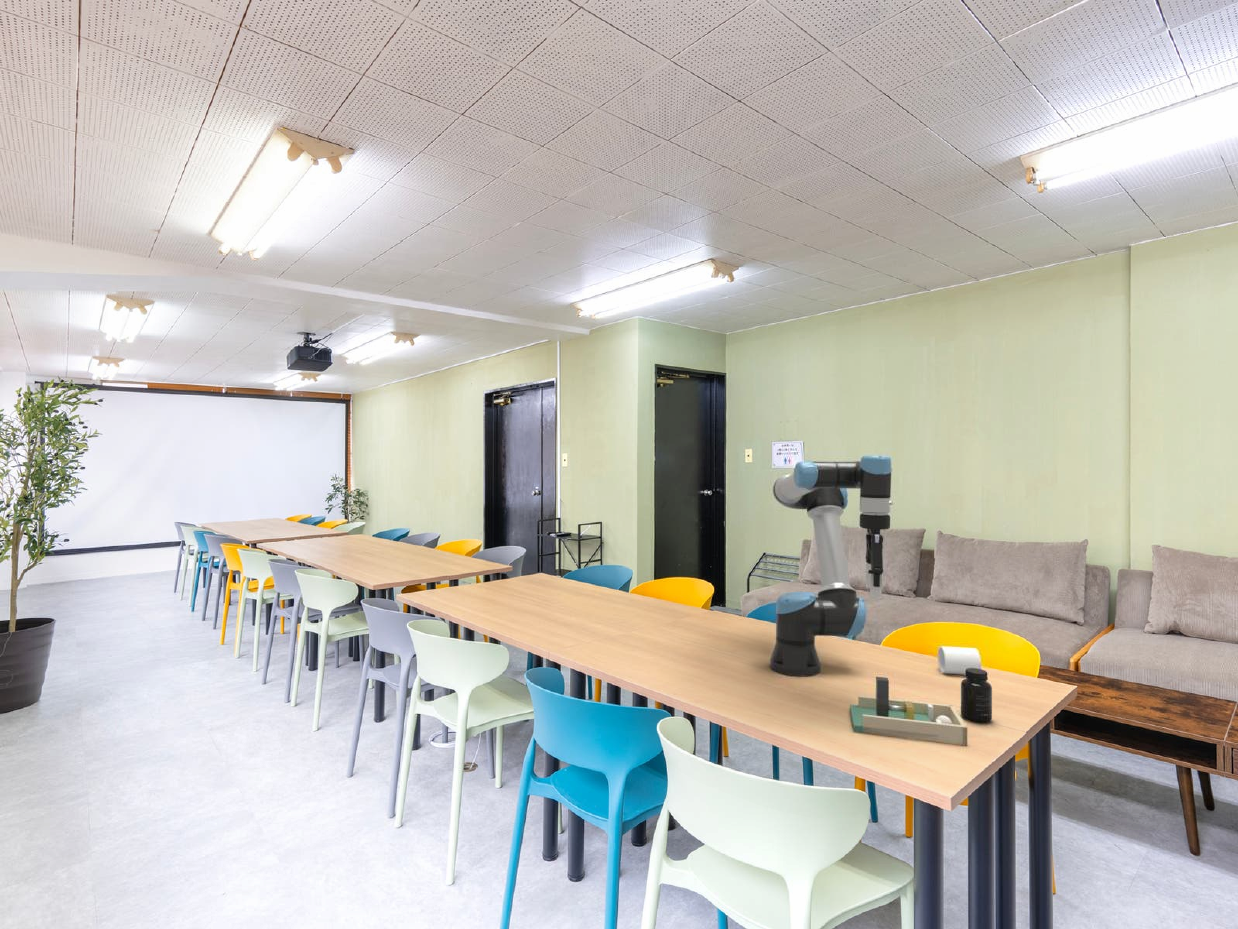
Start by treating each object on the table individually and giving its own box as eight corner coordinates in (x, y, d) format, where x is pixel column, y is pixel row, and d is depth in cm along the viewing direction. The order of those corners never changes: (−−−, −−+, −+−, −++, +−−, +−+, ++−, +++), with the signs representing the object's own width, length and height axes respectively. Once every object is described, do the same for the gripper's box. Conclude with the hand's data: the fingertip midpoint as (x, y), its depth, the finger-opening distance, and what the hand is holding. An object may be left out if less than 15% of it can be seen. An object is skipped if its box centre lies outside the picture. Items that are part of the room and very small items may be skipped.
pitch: (854, 732, 148) (854, 715, 148) (849, 710, 161) (849, 694, 162) (967, 745, 141) (967, 727, 141) (953, 721, 155) (953, 705, 155)
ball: (951, 736, 147) (935, 731, 148) (948, 730, 150) (932, 725, 151) (955, 722, 147) (939, 716, 148) (952, 716, 150) (936, 711, 151)
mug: (981, 679, 187) (981, 652, 187) (945, 676, 189) (945, 650, 189) (967, 667, 199) (967, 641, 199) (933, 664, 201) (933, 639, 201)
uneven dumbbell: (877, 718, 151) (877, 680, 151) (875, 712, 155) (875, 675, 155) (914, 722, 149) (914, 684, 149) (911, 716, 153) (911, 679, 153)
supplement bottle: (954, 713, 160) (954, 666, 160) (980, 713, 161) (980, 666, 161) (972, 724, 153) (972, 675, 153) (998, 723, 154) (998, 674, 154)
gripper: (896, 519, 153) (894, 605, 154) (885, 509, 177) (883, 584, 178) (863, 517, 155) (861, 602, 156) (856, 508, 179) (855, 582, 180)
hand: (873, 593), depth 167 cm, fingers open, 13 cm apart
